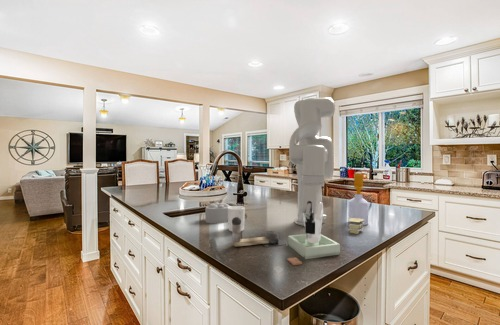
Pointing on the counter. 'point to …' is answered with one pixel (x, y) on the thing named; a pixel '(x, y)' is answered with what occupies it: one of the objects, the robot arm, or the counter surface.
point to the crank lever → (237, 241)
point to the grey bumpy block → (216, 213)
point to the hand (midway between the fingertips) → (312, 230)
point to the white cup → (236, 215)
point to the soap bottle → (358, 201)
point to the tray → (313, 247)
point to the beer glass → (315, 238)
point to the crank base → (294, 260)
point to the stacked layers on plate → (355, 225)
